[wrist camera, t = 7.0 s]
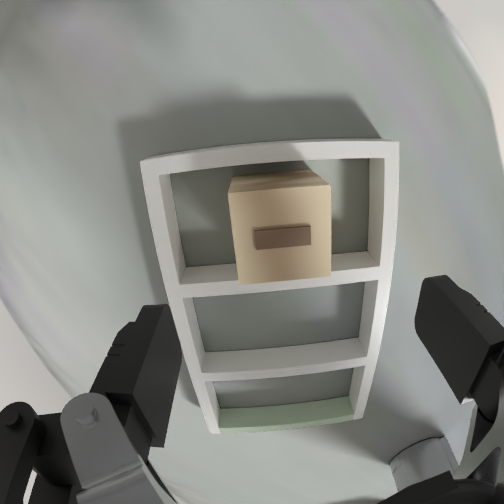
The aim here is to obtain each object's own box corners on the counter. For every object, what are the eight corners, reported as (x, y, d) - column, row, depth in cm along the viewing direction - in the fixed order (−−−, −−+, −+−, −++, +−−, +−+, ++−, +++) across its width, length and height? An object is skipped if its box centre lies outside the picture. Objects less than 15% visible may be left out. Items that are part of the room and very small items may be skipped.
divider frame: (382, 138, 18) (399, 141, 16) (356, 400, 28) (362, 418, 26) (152, 156, 18) (139, 161, 16) (212, 414, 28) (210, 433, 26)
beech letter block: (310, 169, 19) (331, 185, 14) (313, 242, 21) (331, 277, 16) (232, 176, 19) (227, 194, 14) (241, 248, 21) (239, 286, 16)
